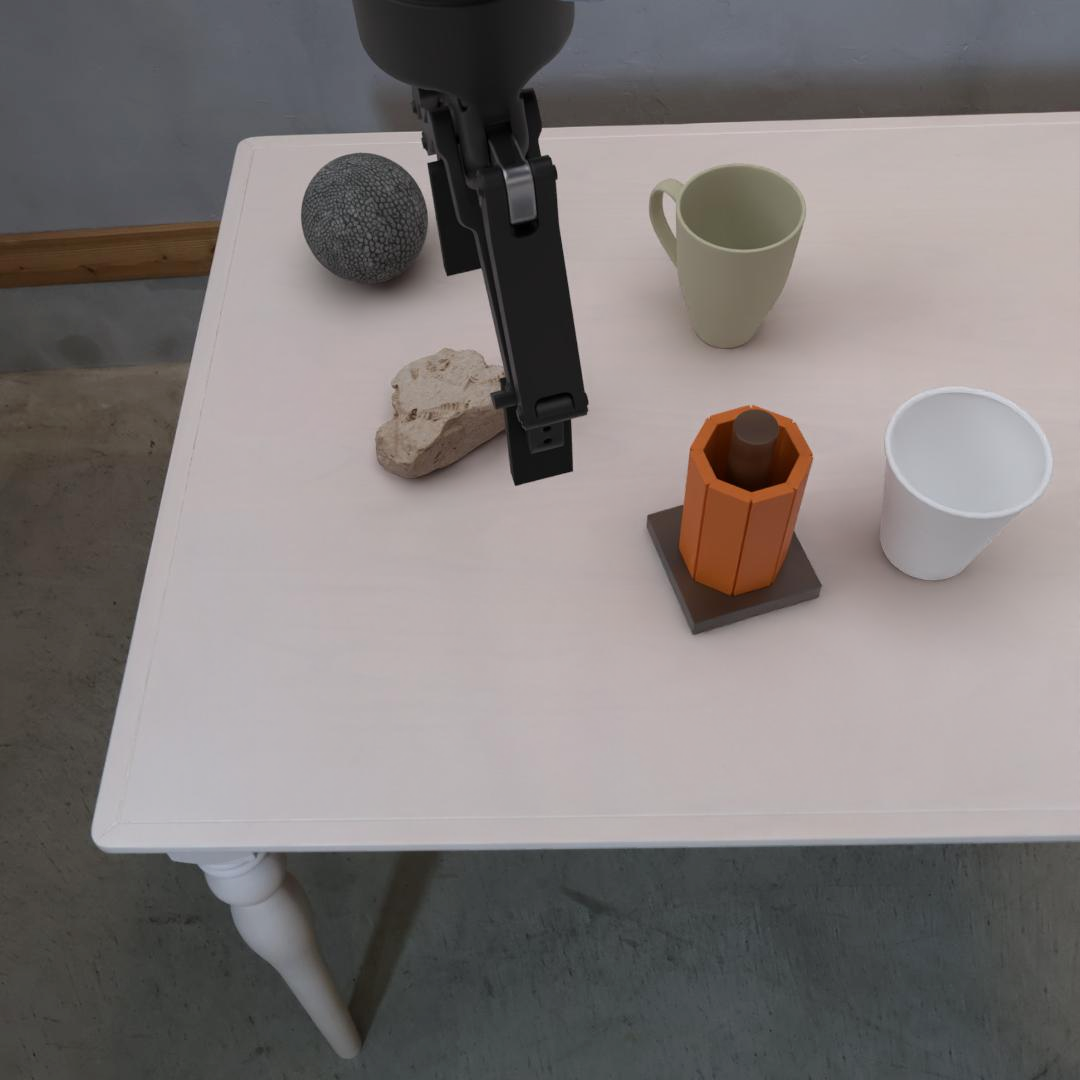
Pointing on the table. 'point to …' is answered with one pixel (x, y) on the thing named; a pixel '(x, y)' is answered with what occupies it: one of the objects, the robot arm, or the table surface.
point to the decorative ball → (364, 218)
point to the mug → (730, 245)
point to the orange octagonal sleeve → (740, 508)
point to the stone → (439, 412)
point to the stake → (750, 473)
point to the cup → (957, 477)
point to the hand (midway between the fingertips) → (504, 362)
